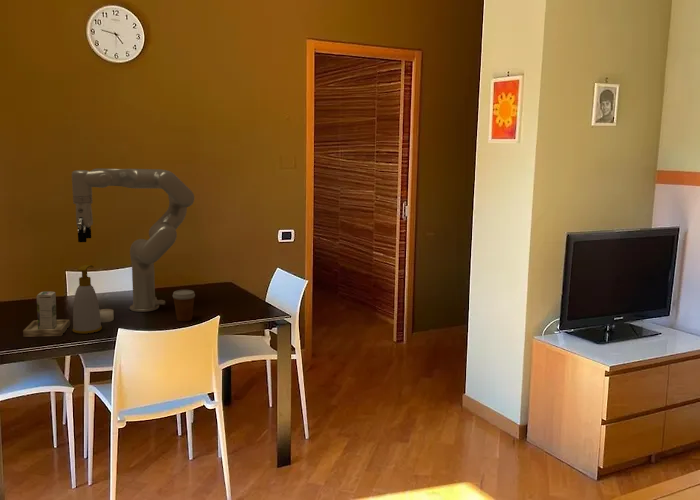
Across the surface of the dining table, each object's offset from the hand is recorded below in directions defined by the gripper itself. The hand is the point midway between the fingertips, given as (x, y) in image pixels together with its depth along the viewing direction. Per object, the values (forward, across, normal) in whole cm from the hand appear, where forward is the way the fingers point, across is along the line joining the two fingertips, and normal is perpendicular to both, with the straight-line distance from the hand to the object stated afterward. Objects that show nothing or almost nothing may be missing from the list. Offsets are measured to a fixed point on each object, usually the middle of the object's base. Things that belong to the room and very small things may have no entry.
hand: (84, 240), depth 288 cm
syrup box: (+32, -21, +12) cm, 40 cm away
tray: (+33, -21, +12) cm, 41 cm away
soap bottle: (+33, -21, -4) cm, 40 cm away
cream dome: (+33, -7, -8) cm, 35 cm away
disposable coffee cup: (+34, -9, -41) cm, 54 cm away
